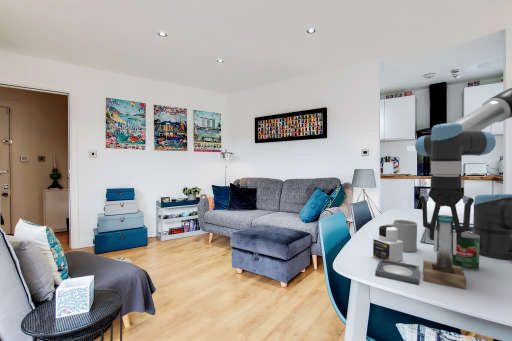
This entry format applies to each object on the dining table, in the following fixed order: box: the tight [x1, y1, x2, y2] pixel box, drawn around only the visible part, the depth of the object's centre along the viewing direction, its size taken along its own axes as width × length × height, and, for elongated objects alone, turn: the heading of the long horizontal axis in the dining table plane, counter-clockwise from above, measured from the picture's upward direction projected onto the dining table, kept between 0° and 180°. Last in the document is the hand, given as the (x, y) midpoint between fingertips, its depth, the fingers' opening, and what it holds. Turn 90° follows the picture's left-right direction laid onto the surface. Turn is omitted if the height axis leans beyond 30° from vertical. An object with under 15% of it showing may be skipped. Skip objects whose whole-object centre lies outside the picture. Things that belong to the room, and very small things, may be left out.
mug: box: [386, 219, 418, 253], centre depth 109 cm, size 12×8×11 cm
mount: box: [422, 260, 467, 290], centre depth 81 cm, size 10×10×3 cm
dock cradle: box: [374, 259, 420, 286], centre depth 84 cm, size 12×12×2 cm
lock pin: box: [436, 214, 454, 268], centre depth 80 cm, size 5×5×15 cm
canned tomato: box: [453, 231, 480, 271], centre depth 90 cm, size 8×8×11 cm
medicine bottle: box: [372, 224, 404, 262], centre depth 97 cm, size 7×7×12 cm
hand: (444, 251), depth 80 cm, fingers closed on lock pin, 4 cm apart
